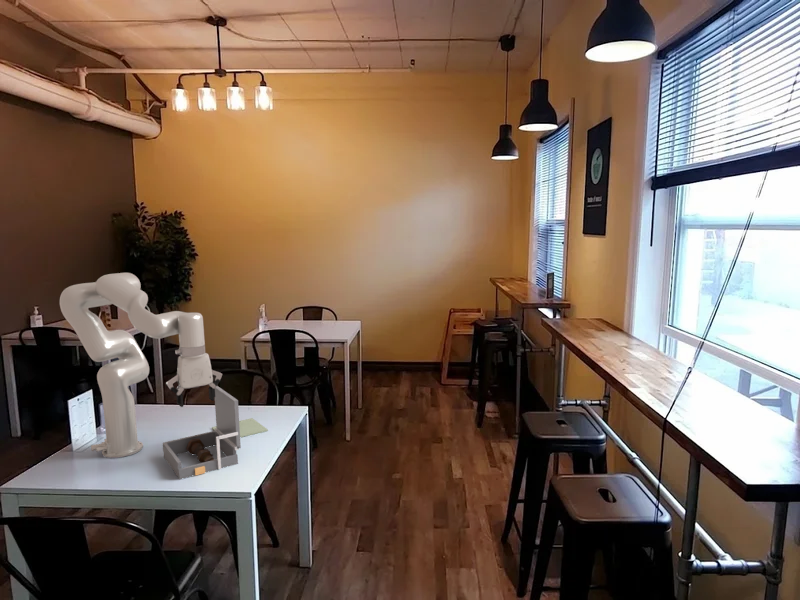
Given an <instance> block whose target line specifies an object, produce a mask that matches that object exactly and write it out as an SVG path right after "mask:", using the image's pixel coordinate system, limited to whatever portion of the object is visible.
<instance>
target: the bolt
mask: <svg viewBox="0 0 800 600" xmlns="http://www.w3.org/2000/svg"><path fill="white" fill-rule="evenodd" d="M204 446H205V445H204V444H203V443H202V441H201V440H200V439H199V438H198V439H193V440H190V441H189V443H188V445H187V448H186V449H187V450H188V452H187V453H188V454H190V455H191V456H193V455H192V454H194V455H195V456H196V460H197V461H198V462H199V463H203V462H207V461H211V460H215V458H214V454H213V453H212V452H211V451H210V449H208V448H204Z"/></svg>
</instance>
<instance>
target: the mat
mask: <svg viewBox="0 0 800 600" xmlns="http://www.w3.org/2000/svg"><path fill="white" fill-rule="evenodd" d="M239 427H240V437H241V438H245V437H248V435H249V436H252V435H253V434H254V435H257V433H258V434H262V433H265V432H268V431H269V430H268V428H267V427H265V426H263V425H262V424H261V423H260V422H258V421H257V420H255V419H254V418H253V417H251V418H246V419H243V420H242V419H241V420H239ZM215 428H217V427H216V426H212V427H211V430H212V431H215ZM244 436H245V437H244Z"/></svg>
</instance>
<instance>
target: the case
mask: <svg viewBox="0 0 800 600" xmlns="http://www.w3.org/2000/svg"><path fill="white" fill-rule="evenodd" d="M214 406H215V407H214V409H215V424H216V427H217V428H215V431H214V430H212V431H207V432H203V433H199V434H194V435H190V436H187V437H186V436H185V437H181V438H177V439H173V440H169V441H164V442H162V452H163V453H162V455H163V458H164V460H165V461H166V463H167V464H168V465H169V467H170V466H171V467H170V468H171V470H172V471H173V470H174V471H173V472H174V473H176V474H175V476H177V478H178V477H179V478H178V479H179V480H183V479H182V478H184V479H187V478H190V477H189V476H191V477H193V476H192V475H195V476H198V475H202V474H206V473H209V472H212V470H213V471H216V469H217V470H218V469H220V470H222V469H224V468H226V467H227V466H228V467H232V466H234V465H237V464H239V460H238V459H239V458H238V456H239V455H238V454H237V451H240V449H241V447H242V446H241V438H240V427H239V421H240V412H239V400H238V399H237V398H236V397H234V396H232V395H231V394H230V393H228V392H227V391H225V390H224V389H223V388H221V387H219V386H218V385H217V386H216V388H215V397H214ZM198 438H199V439H200V440H201V441H202V443H203V444H204V445H205V446H204V449H206V448H205V447H207V448H210V447H209V446H211V447H214V446H213V445H215V447H216V459H215V458H214V460H211V461H207V462H203V463H200V462H199V463H196V464H192V465H188V466H185V467H182V461H181V459H180V458H179V457H178V455H181V454H186V452H187V453H189V452H188V450H187V449H186V448H187V445H188V443H189V441H190V440H193V439H198ZM223 452H224V453H223ZM221 453H223V454H224V456H222V457H221ZM223 467H224V468H223ZM208 471H209V472H208ZM205 472H206V473H205ZM186 477H187V478H186Z"/></svg>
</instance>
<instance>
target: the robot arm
mask: <svg viewBox="0 0 800 600" xmlns="http://www.w3.org/2000/svg"><path fill="white" fill-rule="evenodd" d="M141 285H142V284H141V282H140V279H139V278H138V277H137V276H136V275H135V274H133V273H131V272H120V273H119V272H117V273H109V274H104V275H102V276H100V277H99V278H98V279H97V280H96V281H95V282H93V281H92V282H85V283H84V282H83V283H76V284H73V285H70V286H68V287H66V288H64V289H63V291H62V292H61V294H60V297H59V307H60V311H61V313H62V316H63V317H64V318H65V320H66V321H67V322H68V323H69V325H70V326H71V327H72V328H73V330H74V333H76V336H77V338H78V340H79V341H80V343H81V344H82V346H83V348H84V349H85V351H86V353H87V355H88V356H89V357H90V359H91V360H92V361H93V362H97V363H101V362H102V363H103V362H106V361H110V360H113V359H117V358H118V359H117V360H114V361H111V362H108V363H106V364H104V365H102V367H100V368H99V370H98V372H97V374H96V380H97V384H98V387H99V391H100V393H101V398H102V399H101V400H102V406H103V407H102V408H103V419H104V429H105V439H104V441H101V443H98V444H97V443H96V444H92V445H90V449H91V450H90V451H92V452H94V451H96V452H97V453H98V452H101V453H102V455H103V457H106V458H110V459H112V458H113V459H115V458H124V457H127V456H131V455H135V454H137V453H138V452H140V451H142V449H143V448H144V443H143V442H142V441H140V440H138V430H137V415H136V405H135V398H134V395H133V393H132V392H131V391H130V389H129V386H132V385H134V384H138V383H140V382H142V381H144V380H146V379H147V377H148V376H149V374H150V366H149V362H148V360H147V358H146V356H145V354H144V353H143V352H142V350H141V348H140V346H139V344H138V343H137V340H136V339H135V337H134V336H133V335H132V334H131V333H130V332H128V331H126V330H124V329H115V330H108V329H107V328H106V326H105V325H104V323H103V321H102V319H101V318H100V317H99V316H98V315H97V314H96V313H93V312H92V311H91V310H89V308H90V309H91V308H97V307H103V306H108V305H114V306H116V307H117V308H119V309H120V310H122V311H123V312H126V313H127V317H128V320H129V321H130V323H131V325H132V326H133V327H134V329H136V330H137V331H139V332H141V333H142V334H144V335H145V336H147V337H149V338H152V339H163V338H167V337H170V336H175V335H178V341H179V343H178V344H179V348H178V349H175V350H174V351H175V355H179V356H178V357H177V368H176V369H177V371H176V375H175V376H174V377H172V378H171V379H169V380H168V381H167V380H166V382H165V385H166V386H167V387H168V388H169V390H170V391H172V392H173V393H174V394H175V396H176V404H177V405H179V407H180V408H183V407H184V396H183V395H184V394H182V393H183V391H184V390H185V389H186V390H187V389H192V388H199V387H204V386H209V387H208V398H209V400H210V401H211V402H212V401H214V402H215V388H216V386H218V384H219V383H220V382H221V379H222V376H223V373H221V372H219V371H216V370H213V369H212V364H211V359H210V355H209V353H207V352H206V343H205V342H206V340H205V328H204V317H203V315H202V313H200V312H185V311H181V310H180V311H179V310H174V311H169V312H163V313H160V314H154V313H153V312H151V311H149V310H148V309H146V306H147V305H148V302H149V297H148V294H147V293H146V291H143V290H142V288H141ZM213 376H215V378H214V377H213ZM176 382H177V384H178V386H177V387H174V385H173V384H174V383H176Z"/></svg>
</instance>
